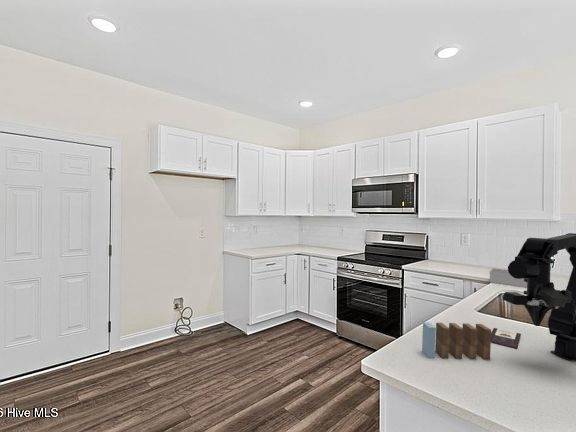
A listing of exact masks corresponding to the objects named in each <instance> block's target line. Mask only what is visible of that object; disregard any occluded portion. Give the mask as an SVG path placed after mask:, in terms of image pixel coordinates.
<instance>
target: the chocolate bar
mask: <svg viewBox="0 0 576 432" xmlns="http://www.w3.org/2000/svg"><path fill="white" fill-rule="evenodd" d="M521 335H522V333H520V332H514V331H510V330H507V329H506V330H505V329H501V328H497V327H493V329H492V330H491V344H494V345H497V346H502V347H506V348H509V349H514V350H518V346H519V344H520V340H521Z"/></svg>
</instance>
